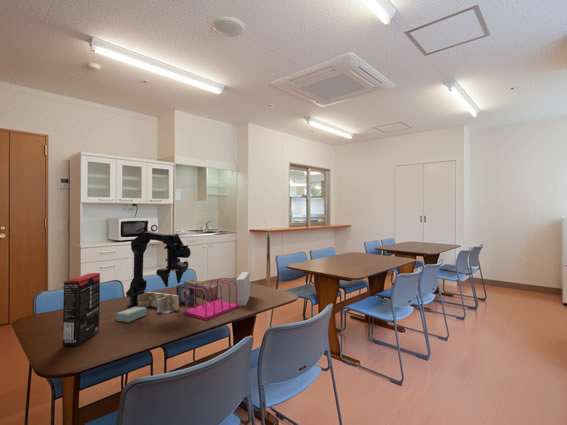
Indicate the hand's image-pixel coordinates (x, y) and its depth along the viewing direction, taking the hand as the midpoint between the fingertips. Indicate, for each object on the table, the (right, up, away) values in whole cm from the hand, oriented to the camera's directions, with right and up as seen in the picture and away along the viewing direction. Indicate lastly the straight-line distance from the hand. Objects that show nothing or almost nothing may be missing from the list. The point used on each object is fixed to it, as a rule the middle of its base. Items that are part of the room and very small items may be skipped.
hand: (172, 285), depth 169 cm
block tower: (+6, -15, +34) cm, 38 cm away
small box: (+2, -15, +16) cm, 22 cm away
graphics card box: (-27, -15, -35) cm, 47 cm away
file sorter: (+22, -15, +1) cm, 26 cm away
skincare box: (+37, -15, +20) cm, 44 cm away
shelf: (-10, -15, +4) cm, 18 cm away
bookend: (-3, -15, 0) cm, 15 cm away
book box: (-18, -15, -9) cm, 25 cm away
